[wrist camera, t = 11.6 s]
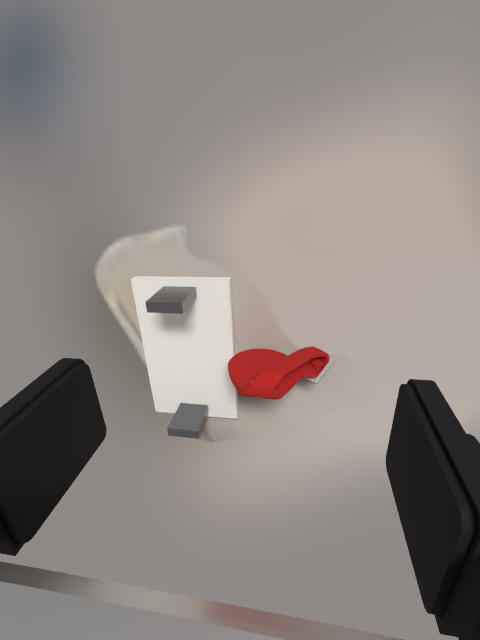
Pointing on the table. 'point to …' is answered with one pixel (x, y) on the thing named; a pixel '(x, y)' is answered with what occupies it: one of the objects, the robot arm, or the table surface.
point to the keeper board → (188, 347)
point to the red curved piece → (275, 370)
